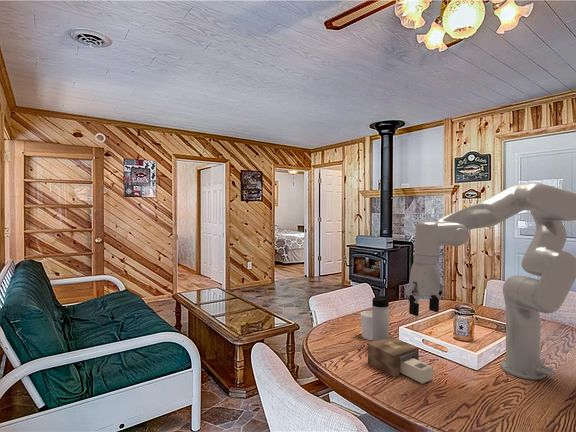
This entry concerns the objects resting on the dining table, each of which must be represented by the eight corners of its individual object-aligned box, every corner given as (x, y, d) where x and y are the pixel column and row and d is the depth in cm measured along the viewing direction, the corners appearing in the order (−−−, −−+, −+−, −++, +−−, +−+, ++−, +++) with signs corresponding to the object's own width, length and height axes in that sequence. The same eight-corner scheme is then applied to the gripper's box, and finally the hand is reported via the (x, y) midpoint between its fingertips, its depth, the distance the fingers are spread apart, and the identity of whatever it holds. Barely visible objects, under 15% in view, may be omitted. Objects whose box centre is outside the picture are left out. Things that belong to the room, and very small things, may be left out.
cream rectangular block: (432, 379, 110) (432, 366, 110) (422, 383, 107) (422, 370, 107) (397, 362, 122) (397, 350, 121) (387, 366, 119) (387, 354, 119)
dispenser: (420, 368, 118) (420, 347, 117) (396, 378, 111) (395, 356, 111) (391, 355, 129) (391, 336, 128) (367, 363, 122) (367, 343, 122)
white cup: (359, 339, 144) (358, 315, 144) (362, 332, 151) (362, 310, 151) (378, 341, 141) (378, 317, 141) (380, 335, 148) (380, 312, 148)
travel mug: (390, 351, 132) (390, 299, 131) (372, 350, 133) (372, 298, 133) (389, 344, 138) (389, 295, 137) (372, 343, 139) (371, 294, 139)
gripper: (433, 257, 119) (431, 306, 119) (398, 259, 110) (396, 312, 111) (453, 260, 112) (451, 313, 113) (418, 263, 104) (415, 320, 104)
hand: (423, 312), depth 112 cm, fingers open, 9 cm apart
